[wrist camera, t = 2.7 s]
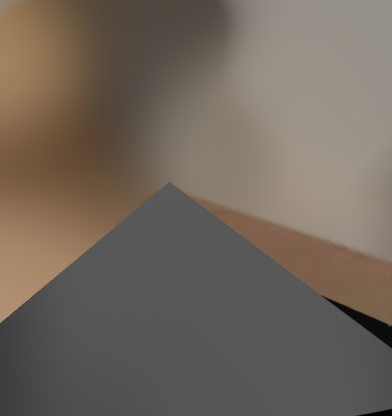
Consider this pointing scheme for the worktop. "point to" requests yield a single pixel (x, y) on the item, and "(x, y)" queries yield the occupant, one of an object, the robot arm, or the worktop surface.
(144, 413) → the block
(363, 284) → the worktop surface
